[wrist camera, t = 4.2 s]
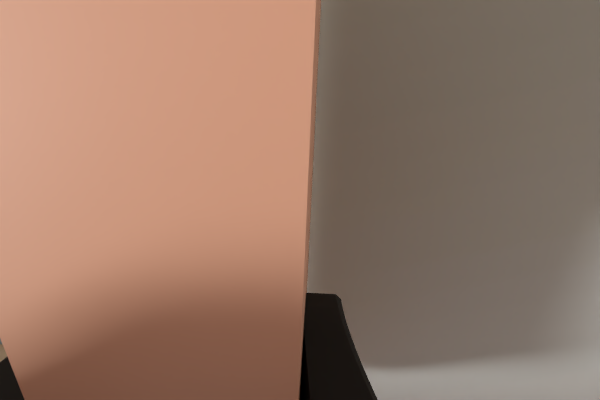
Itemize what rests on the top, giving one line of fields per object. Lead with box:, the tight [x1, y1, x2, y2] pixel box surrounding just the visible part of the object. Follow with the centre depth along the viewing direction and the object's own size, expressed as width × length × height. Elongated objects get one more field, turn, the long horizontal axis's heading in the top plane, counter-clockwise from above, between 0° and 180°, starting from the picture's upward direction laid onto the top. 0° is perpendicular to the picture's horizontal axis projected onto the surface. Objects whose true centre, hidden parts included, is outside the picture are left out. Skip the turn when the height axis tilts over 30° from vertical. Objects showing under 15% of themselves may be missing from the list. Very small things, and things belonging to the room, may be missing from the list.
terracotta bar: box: [0, 0, 321, 400], centre depth 9 cm, size 14×4×5 cm, turn 178°
